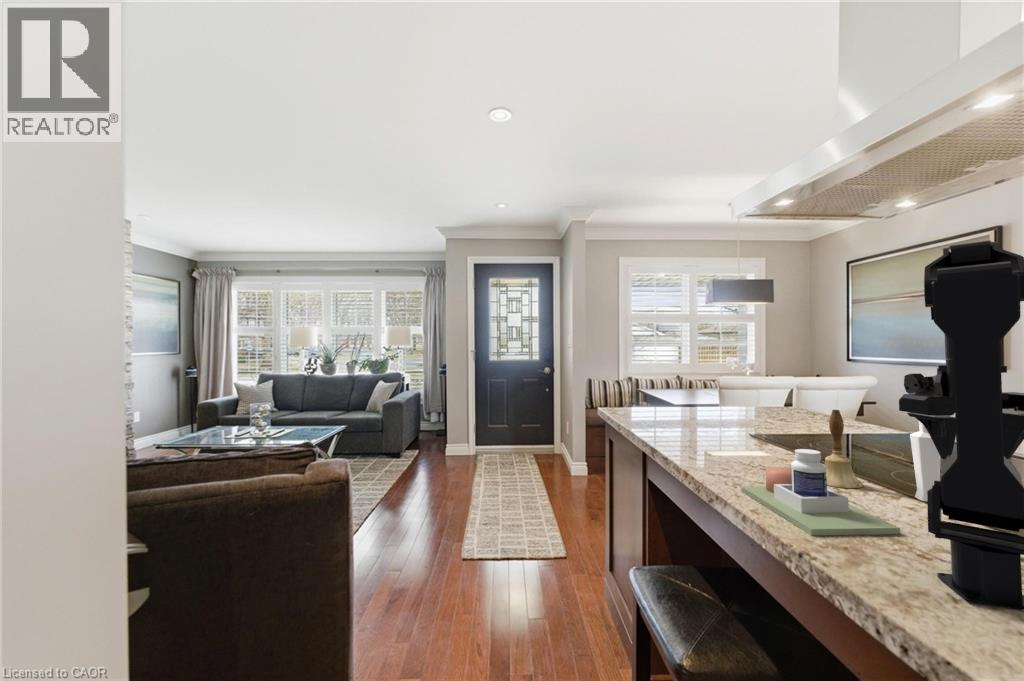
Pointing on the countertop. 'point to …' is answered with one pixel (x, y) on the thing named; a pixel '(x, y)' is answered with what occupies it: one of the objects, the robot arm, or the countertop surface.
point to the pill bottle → (808, 474)
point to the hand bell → (839, 458)
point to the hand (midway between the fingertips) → (975, 458)
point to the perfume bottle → (924, 461)
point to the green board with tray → (815, 508)
